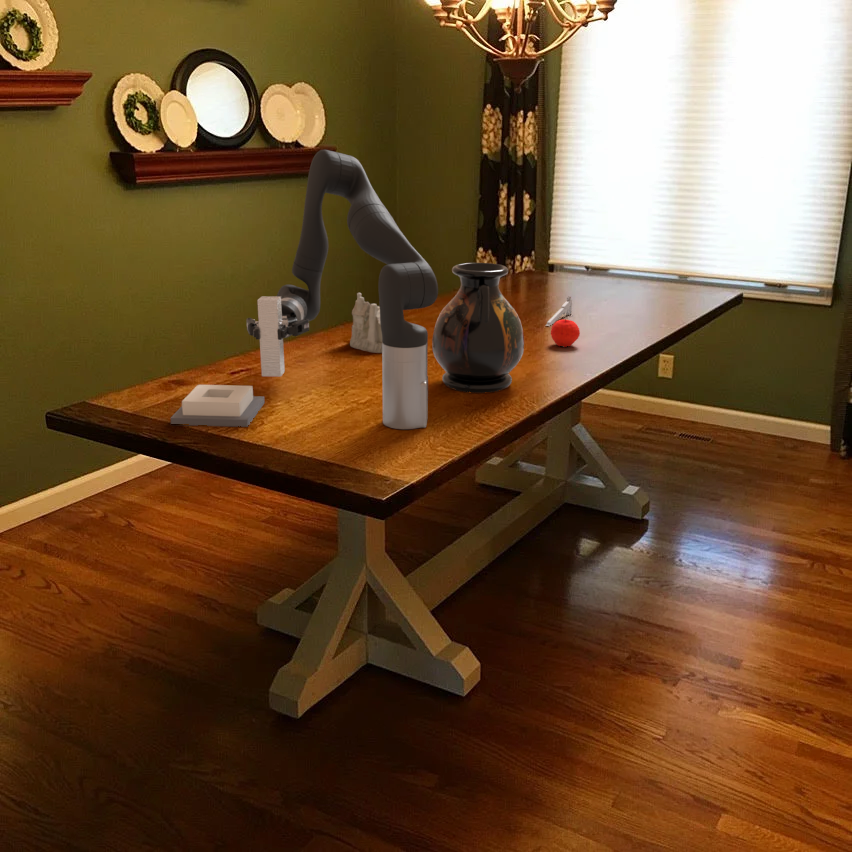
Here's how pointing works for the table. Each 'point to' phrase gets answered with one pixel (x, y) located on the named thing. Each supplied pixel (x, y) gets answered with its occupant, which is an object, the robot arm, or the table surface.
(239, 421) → the socket block
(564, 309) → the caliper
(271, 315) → the steel peg
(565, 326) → the apple
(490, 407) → the table surface
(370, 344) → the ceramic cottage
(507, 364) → the black painted vase
